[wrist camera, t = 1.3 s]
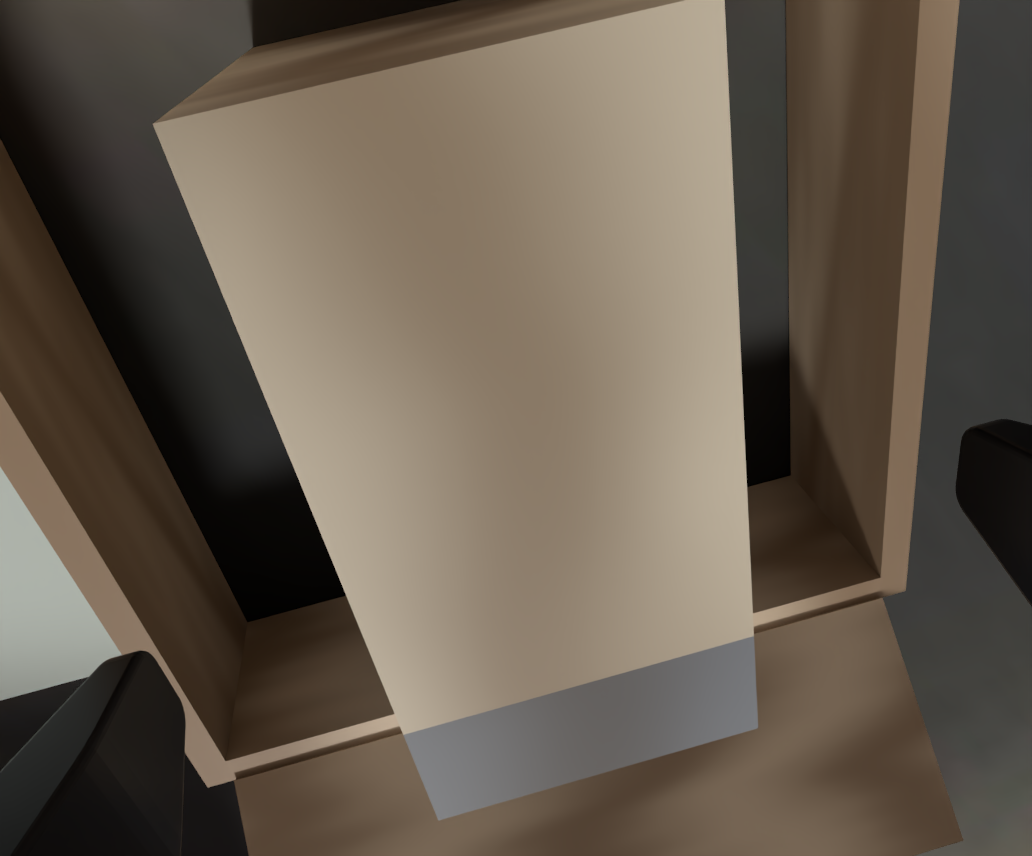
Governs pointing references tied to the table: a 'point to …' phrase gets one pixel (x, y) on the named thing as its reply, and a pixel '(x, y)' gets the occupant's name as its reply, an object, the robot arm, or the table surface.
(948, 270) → the table surface
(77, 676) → the mat
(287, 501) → the table surface
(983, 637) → the table surface
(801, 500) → the carton
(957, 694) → the table surface
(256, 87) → the box
